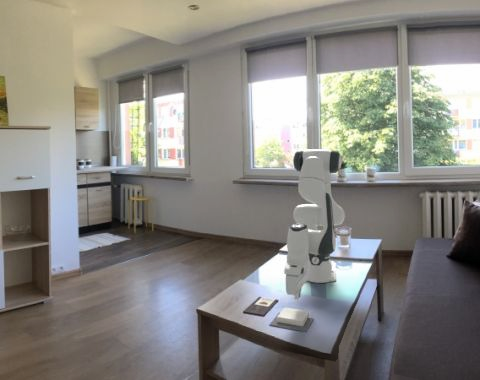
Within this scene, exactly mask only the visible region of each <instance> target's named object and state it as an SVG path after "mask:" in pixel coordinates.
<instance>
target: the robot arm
mask: <svg viewBox="0 0 480 380" xmlns="http://www.w3.org/2000/svg"><path fill="white" fill-rule="evenodd" d="M342 162H343V160H342V156H341V153H340V152H339V151H338V150H333V149H332V150H329V149H320V148H319V149H299V150H297V151H296V152H295V153H294V156H293V159H292V163H293V164H292V165H293V168H294V169H295V170H296V171H297V172H299V177H298V183H297V185H298V186H297V187H298V188H297V189H298V190H297V191H298V194H299V195H300V196H301V198H302V199H304V200H305V201H306V202H307V203H305V204H298V205H296V206H295V208H294V210H293V214H292V215H293V219H294V222H295V223H294V224H290V225H289V227H288V232H287V237H286V248H287V256H286V265H285V267H284V270H283V272H284V275H285V292H286V294H287V295H289V296H294V300H298V301H299V300H300V299H301V297H302V295H301V293H302V290H303V286H304V285H305V284H306V283H307V282H311V283H316V284H319V283H320V284H321V283H322V284H323V283H329V282H337V278H336V277H337V276H336V271H335V270H333V264H332V261H331V254H333V253H334V252H335V250H336V247H337V241H336V234H335V227H336V226H340V225H342V224H343V222H344V221H345V217H346V212H345V211H344V209H343V207H342V206H340V205H339V204H338V203H337V202H336V201H335V200H334V198H333V195H332V188H331V183H332V181H331V180H332V175H331V174H335V173H337V172H339V171H340V169H341V166H342V165H343V163H342ZM319 226H320V227H323V228H322V229H320V230H319V229H318V227H319Z"/></svg>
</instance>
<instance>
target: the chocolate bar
mask: <svg viewBox="0 0 480 380" xmlns="http://www.w3.org/2000/svg"><path fill="white" fill-rule="evenodd" d="M278 302H279V299H276V298H275V299H274V298H270V297H265V296H263V297H262V296H258V297H257V298H256V299H255V300H253V302H251V304H250V305H248V306H247V308H246V309H244V310H243V311H242V313H243V314H248V315H253V316H260V317H265V316H266V315H267V314H268V313H269V312H270V311H271V309H273V307H274V306H275V305H277V303H278Z"/></svg>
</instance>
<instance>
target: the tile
mask: <svg viewBox="0 0 480 380" xmlns="http://www.w3.org/2000/svg"><path fill="white" fill-rule="evenodd" d="M279 313H280V314H279V315H278V314H277V315H278V316H277V315H276V316H277V322H281V323H286V324H292V325H297V326H303V325H304V324H305V322H306V320H307V319H308V317H309V318H310V310H309V311H308V310H304V309H297V308H291V307H284V308H283V309H282V310H281V312H279Z"/></svg>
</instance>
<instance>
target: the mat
mask: <svg viewBox="0 0 480 380" xmlns="http://www.w3.org/2000/svg"><path fill="white" fill-rule="evenodd" d="M280 313H281V312H278V313H277V315H275V317H274V318H273V319H272V321H271V322H270V323H269V326H271V327H276V328H282V329H288V330H292V331H297V332H304V333H307V331H308V329H309V328H310V327H311V324H312V323H313V321H314V317H310V316H309V317H308V319H307V320H306V322H305V324H304V325H303V326H297V325H292V324H286V323H281V322H277V316H278V315H279V314H280Z"/></svg>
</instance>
